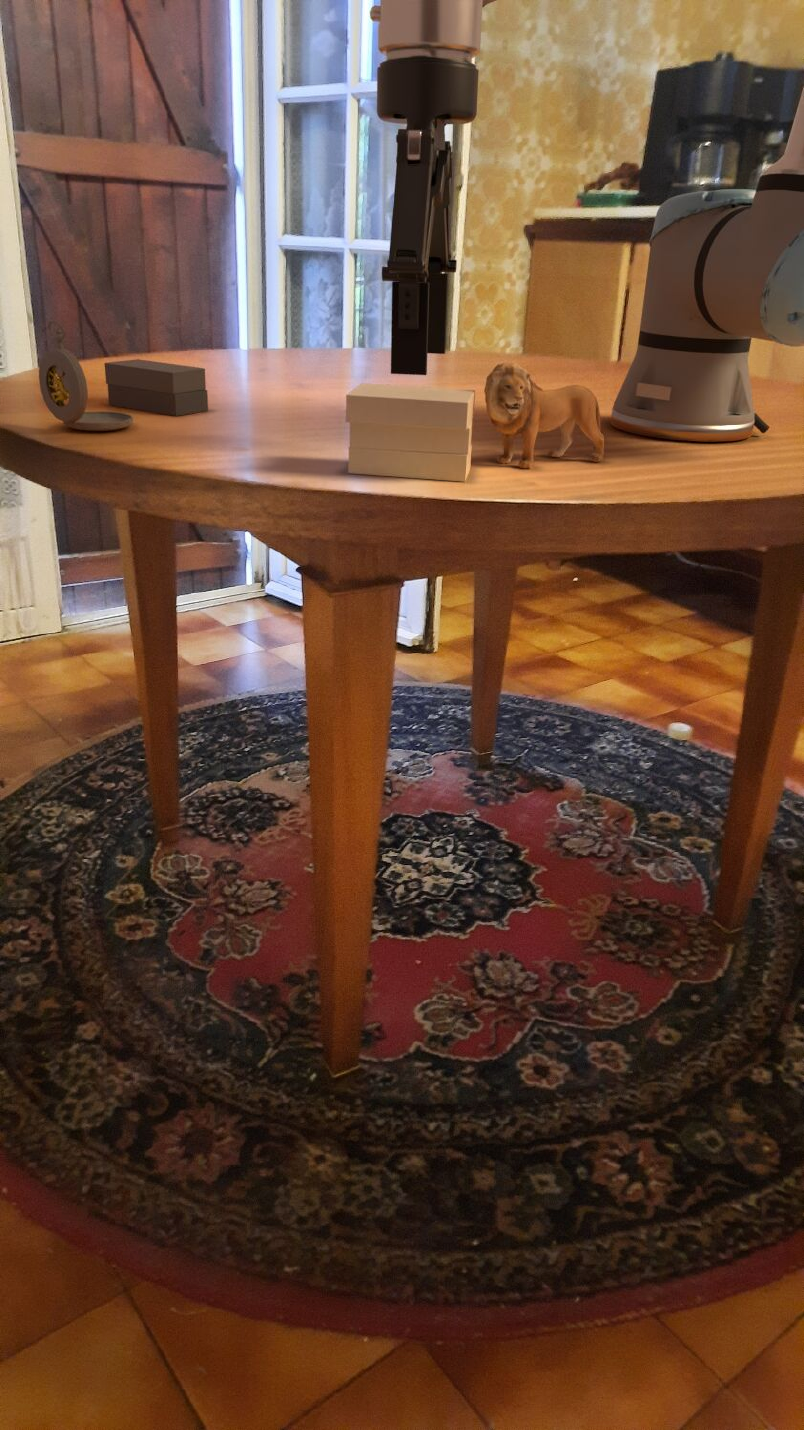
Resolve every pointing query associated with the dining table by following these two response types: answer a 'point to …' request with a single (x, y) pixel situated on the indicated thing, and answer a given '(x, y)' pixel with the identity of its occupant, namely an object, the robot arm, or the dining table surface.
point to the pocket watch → (72, 391)
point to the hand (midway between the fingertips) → (419, 363)
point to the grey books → (156, 387)
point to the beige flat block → (410, 406)
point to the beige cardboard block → (410, 451)
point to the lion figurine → (539, 412)
